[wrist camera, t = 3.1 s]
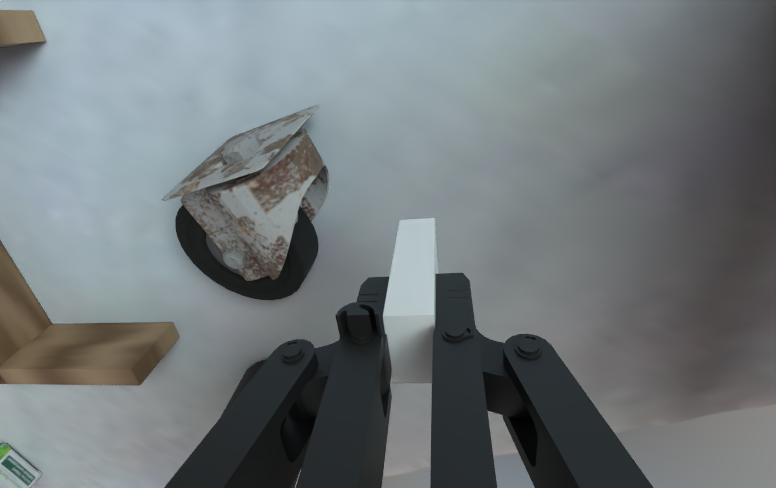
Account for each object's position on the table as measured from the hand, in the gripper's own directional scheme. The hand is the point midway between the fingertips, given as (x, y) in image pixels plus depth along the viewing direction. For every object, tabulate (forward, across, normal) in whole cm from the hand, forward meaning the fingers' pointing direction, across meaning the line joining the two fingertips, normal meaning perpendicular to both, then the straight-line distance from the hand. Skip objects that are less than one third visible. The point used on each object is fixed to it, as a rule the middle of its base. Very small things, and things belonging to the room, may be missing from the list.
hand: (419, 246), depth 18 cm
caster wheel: (+8, +10, +1) cm, 13 cm away
